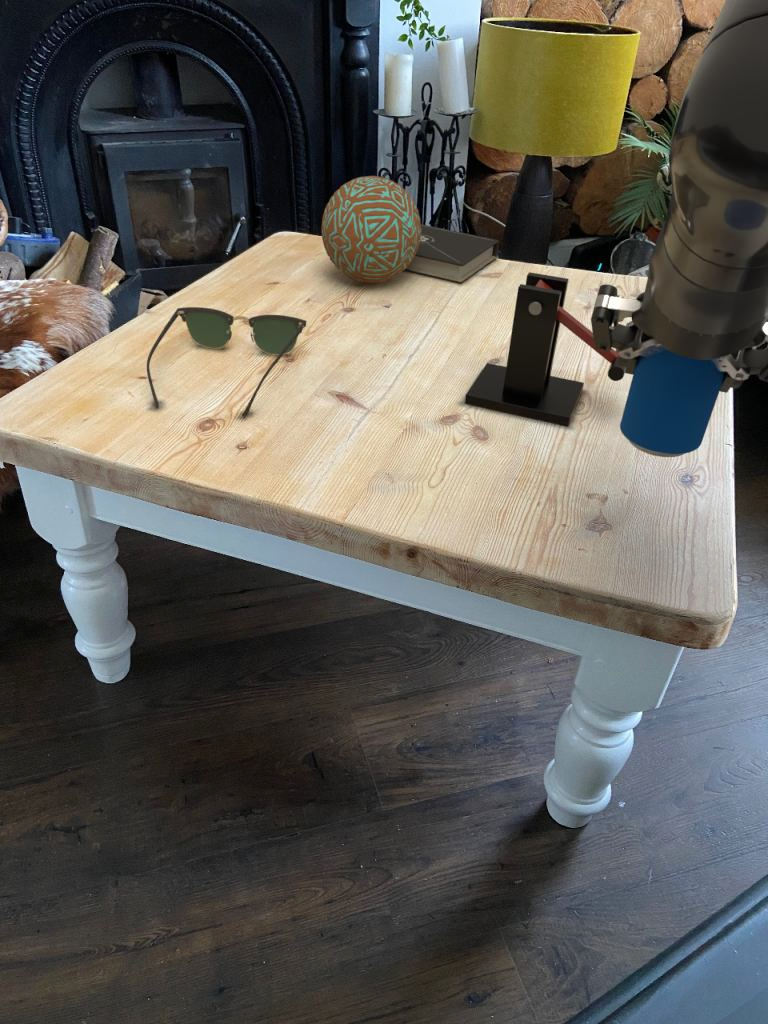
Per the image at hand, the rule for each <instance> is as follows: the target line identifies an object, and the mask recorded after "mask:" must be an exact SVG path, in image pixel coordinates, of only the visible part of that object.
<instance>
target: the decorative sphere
mask: <svg viewBox="0 0 768 1024" xmlns="http://www.w3.org/2000/svg"><path fill="white" fill-rule="evenodd" d="M421 221H422V220H421V216H420V212H419V209H418V207H417V205H416V202H415V201H414V199H413V198H412V197H411V195H410V194H409V192H408V191H406V190H405V188H403V187H402V185H399V184H398V183H397V182H395V181H393V180H392V179H389V178H386V177H382V176H378V175H367V176H366V175H365V176H359V177H356V178H352V179H351V180H349V181H347V182H345V183H344V184H343V185H341V186H340V187H339V189H337V190H336V191H334V193H333V195H332V196H331V197H330V198H329V201H328V202H327V204H326V205H325V208H324V211H323V215H322V221H321V240H322V244H323V247H324V250H325V253H326V255H327V257H329V260H330V261H331V263H332V264H333V265H334V267H335V268H336V269H337V270H339V272H341V273H342V274H344V275H345V276H347V277H349V279H352V280H355V281H357V282H361V283H366V284H376V283H382V282H385V281H388V280H390V279H391V280H392V279H394V278H395V277H397V276H399V275H400V274H401V273H402V272H404V271H405V269H406V268H407V267H408V265H409V264H410V263H411V261H412V260H413V258H414V257H415V255H416V253H417V250H418V247H419V244H420V238H421V224H422V222H421Z"/></svg>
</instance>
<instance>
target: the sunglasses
mask: <svg viewBox="0 0 768 1024" xmlns="http://www.w3.org/2000/svg"><path fill="white" fill-rule="evenodd" d="M178 317H180V318H181V320H182V322H184V323H185V325H186V328H187V331H188V334H189V336H190V337H191V339H192V340H193V342H195V343H196V344H197V345H199V346H201V347H203V348H207V349H215V350H217V349H219V350H220V349H223V348H224V347H225V346H227V344H228V343H229V341H230V340H231V339H232V336H233V332H232V328H231V327H232V326H233V324H234V322H235V321H237V320H239V321H241V320H242V321H245V322H248V324H249V327H250V328H251V329H252V332H250V338H251V341H252V343H253V344H254V343H255V345H256V346H257V348H258V349H259V350H260V351H261V352H263V353H265V354H268V355H273V356H277V357H276V358H275V359H274V360H273V362H272V363H271V364H270V366H269V367H268V368H267V370H266V371H265V372H264V374H263V376H262V378H261V379H260V381H259V383H258V385H257V387H256V388H255V391H254V392H253V394H252V396H251V397H250V399H249V402H248V403H247V405H246V407H245V408H244V410H243V412H242V414H241V417H245V416H246V415H248V414H249V412H250V411H251V408H252V405H253V403H254V400H255V398H256V397H257V394H258V392H259V390H260V389H261V386H262V384H263V383H264V381H265V379H266V378H267V376H268V375H269V374H270V373H271V371H272V369H273V368H274V367H275V366H276V364H277V363H278V362H279V361H280V359H281V358H282V357H283V356H284V355H287V354H289V353H291V352H292V351H293V350H294V349H295V347H296V344H297V342H298V340H299V339H298V337H299V336H300V334H301V333H303V330H304V329H305V328H306V326H307V320H306V319H302V318H299V317H294V316H290V315H289V316H288V315H284V314H283V315H281V314H261V315H256V316H252V317H250V318H248V317H247V316H243V315H236V316H234V315H232V314H230V313H227V312H226V311H222V310H220V309H215V308H210V307H209V308H208V307H198V306H188V307H187V306H186V307H178V308H176V310H175V311H174V313H173V314H172V316H171V317H170V318H169V320H168V321H167V323H166V324H165V326H164V327H163V329H162V331H161V332H160V333H159V336H158V337H157V339H156V340H155V342H154V344H153V345H152V347H151V349H150V351H149V354H148V357H147V359H146V375H147V380H148V383H149V387H150V390H151V391H150V392H151V395H152V398H153V402H154V405H155V407H156V408H159V406H160V404H159V403H160V402H159V401H158V397H157V394H156V391H155V387H154V383H153V380H152V376H151V370H150V364H151V360H152V357H153V355H154V353H155V351H156V349H157V348H158V346H159V344H160V343H161V341H162V339H164V337H165V335H166V334H167V333H168V331H169V330H170V328H171V327H172V325H173V324H174V323H175V322H176V320H177V319H178Z"/></svg>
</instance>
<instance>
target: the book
mask: <svg viewBox="0 0 768 1024" xmlns="http://www.w3.org/2000/svg"><path fill="white" fill-rule="evenodd" d="M499 247H500V240H499V239H495V238H489V237H485V236H481V235H476V234H470V233H465V232H461V231H455V230H450V229H445V228H441V227H437V226H432V225H427V224H422V223H421V238H420V244H419V247H418V250H417V253H416V255H415V257H414V258H413V260H412V261H411V263H410V264H409V265H408V267H407V268H406V269H405V270H404V271H405V272H409V273H414V274H417V275H422V276H425V277H426V276H427V277H431V278H435V279H440V280H444V281H448V282H452V283H455V284H456V283H457V284H463V283H464V282H466V281H467V280H468V279H470V278H471V277H473V276H474V275H475V274H477V273H478V272H479V271H482V269H484V268H485V267H486V266H488V265H489V264H491V263H492V262H493V261H495V260H496V259H497V258H498V254H499V249H500V248H499Z"/></svg>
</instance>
